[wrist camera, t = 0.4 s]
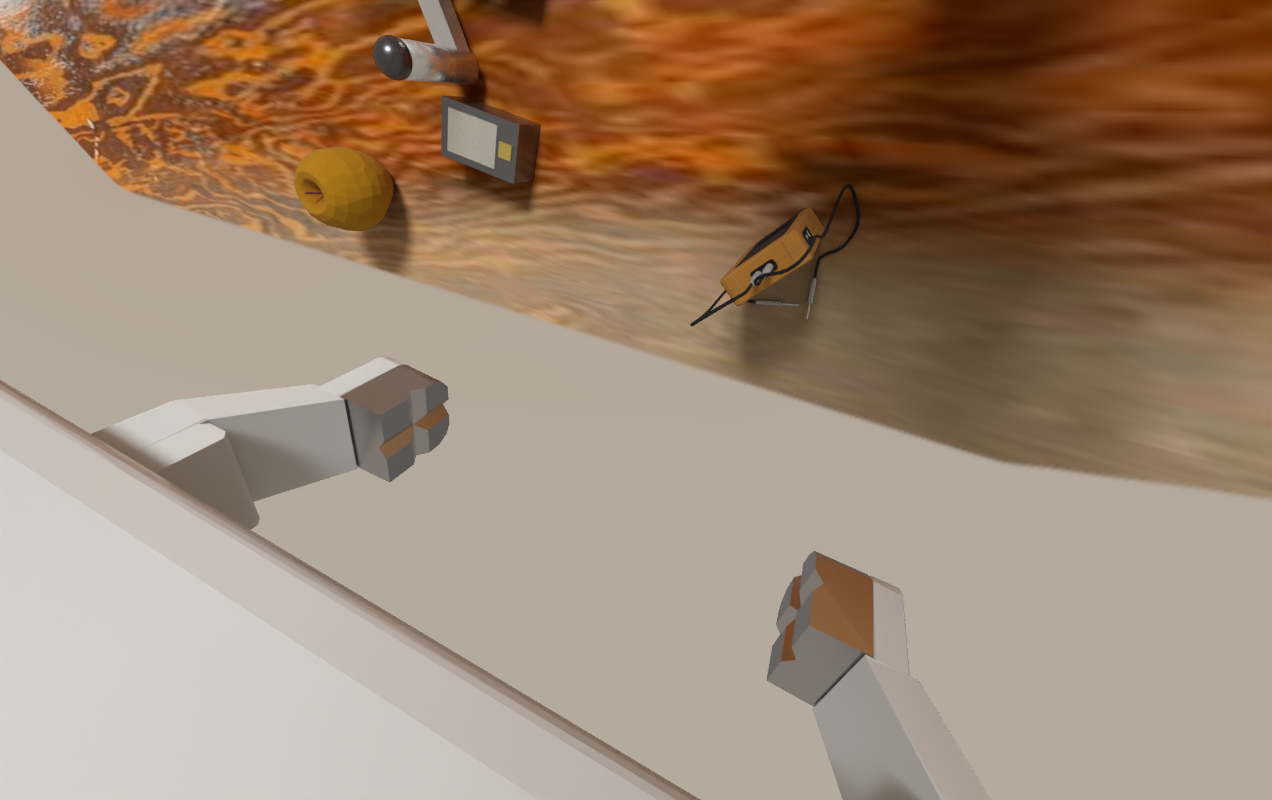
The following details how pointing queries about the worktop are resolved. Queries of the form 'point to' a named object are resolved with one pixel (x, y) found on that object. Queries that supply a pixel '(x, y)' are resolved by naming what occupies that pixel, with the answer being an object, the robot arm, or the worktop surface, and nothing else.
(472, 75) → the grey crank handle
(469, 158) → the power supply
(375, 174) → the apple
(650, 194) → the worktop surface
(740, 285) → the multimeter
